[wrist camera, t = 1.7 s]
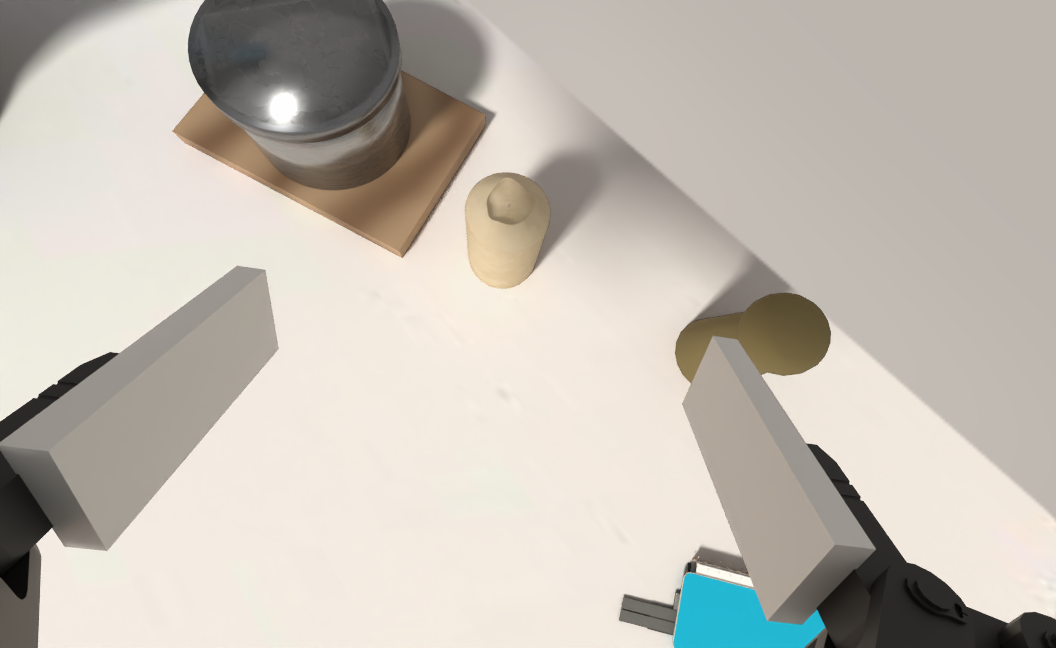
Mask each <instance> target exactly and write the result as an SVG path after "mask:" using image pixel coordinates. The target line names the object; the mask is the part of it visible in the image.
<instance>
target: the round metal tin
mask: <svg viewBox="0 0 1056 648" xmlns="http://www.w3.org/2000/svg"><path fill="white" fill-rule="evenodd" d="M188 54H189V62H190V65H191V68H192V72H193V74H194V76H195V78H196V80H197V82H198V84H199V86H200V87H201V89H202V90H203V91H204V93H205V94H206V95H207V97H208V98H209V99H210V100H211V101H212V102H213V104H214V105H215V106H216V107H217V108H218V109H219V110H220V111H221V113H222V114H223V115H224V116H225V117H227V118H228V119H229V120H230V121H232V122H233V123H234V124H236V125H237V126H239V127H240V128H242V129H243V130H244V131H245V132H246V134H247V135H248V136H249V137H250V138H251V140H252V141H253V142H254V143H255V144H256V146H257V147H258V148H259V149H260V151H261V152H262V153H263V154H264V155H265V157H266V158H267V159H268V160H269V162H270V163H271V164H272V165H273V166H274V167H275V168H276V169H277V170H278V171H279V172H281V173H282V174H283V175H284V176H286V177H287V178H289V179H291V180H292V181H294V182H297V183H299V184H301V185H304V186H307V187H310V188H314V189H320V190H331V191H334V190H346V189H352V188H356V187H359V186H363V185H365V184H367V183H370V182H372V181H374V180H376V179H377V178H379V177H381V176H382V175H383V174H385V173H386V172H387V171H389V170H390V169H391V168H392V167H393V166H394V165H395V164H396V162H397V161H398V160H399V158H400V157H401V155H402V154H403V152H404V150H405V148H406V146H407V143H408V140H409V136H410V129H411V119H410V112H409V108H408V103H407V99H406V95H405V91H404V86H403V82H402V78H401V74H400V73H401V63H402V58H401V48H400V43H399V39H398V34H397V30H396V25H395V23H394V20H393V18H392V15H391V13H390V12H389V10H388V8H387V6H386V5H385V3H384V2H383V1H382V0H205V1H204V2H203V4H202V5H201V6H200V8H199V10H198V12H197V13H196V15H195V17H194V20H193V23H192V25H191V28H190V33H189V38H188Z"/></svg>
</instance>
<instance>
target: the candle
mask: <svg viewBox="0 0 1056 648" xmlns="http://www.w3.org/2000/svg"><path fill="white" fill-rule="evenodd" d="M465 219H466V231H467V244H468V256H469V262H470V266H471V268H472V270H473V272H474V273H475V275H476V276H477V277H478V278H479V279H480V280H481V281H482V282H483V283H485V284H487V285H489V286H491V287H495V288H511V287H514V286H516V285H519V284H520V283H522V282H523V281H524V280H525V279H527V277H528V276H529V275H530V274H531V272H532V270H533V268H534V266H535V263H536V260H537V257H538V254H539V251H540V248H541V246H542V243H543V240H544V237H545V234H546V231H547V228H548V225H549V222H550V206H549V202H548V199H547V197H546V195H545V193H544V192H543V191H542V189H541V188H540V187H539V186H538V185H537V184H536V183H535V182H533V181H532V180H530V179H529V178H527V177H525V176H522V175H519V174H515V173H508V172H507V173H496V174H493V175H490V176H488V177H486V178H484V179H482V180H481V181H479V182H478V183H477V184H476V185H475V186H474V187H473V189H472V190H471V191H470V193H469V195H468V197H467V200H466V205H465Z"/></svg>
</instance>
